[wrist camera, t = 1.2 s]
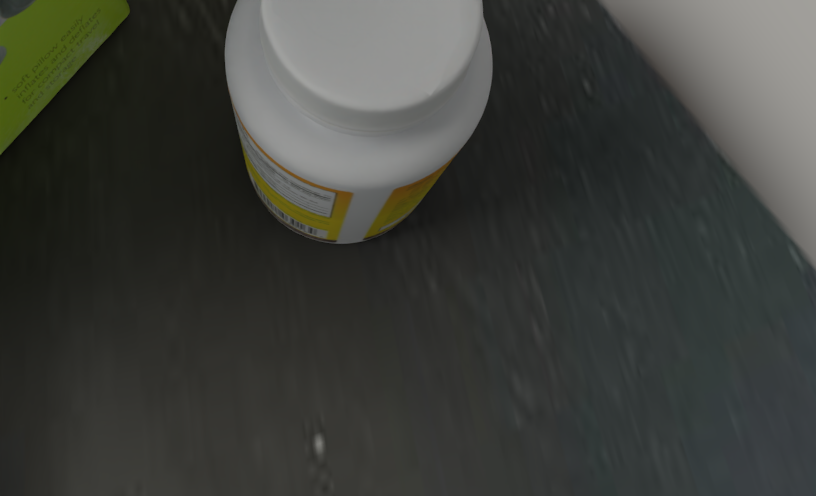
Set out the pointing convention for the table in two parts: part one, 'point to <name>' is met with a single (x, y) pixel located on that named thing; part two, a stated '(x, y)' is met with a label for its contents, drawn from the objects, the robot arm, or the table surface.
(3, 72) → the box
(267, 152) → the supplement bottle
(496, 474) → the table surface
